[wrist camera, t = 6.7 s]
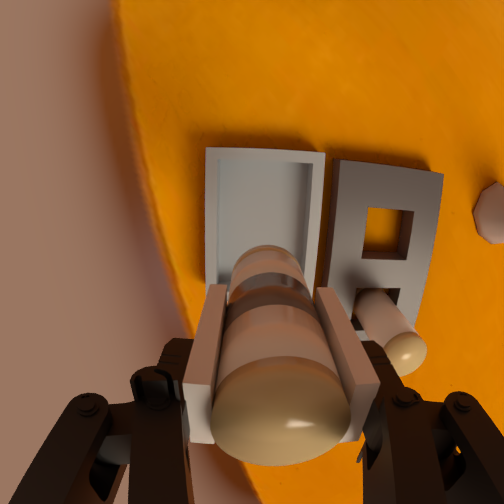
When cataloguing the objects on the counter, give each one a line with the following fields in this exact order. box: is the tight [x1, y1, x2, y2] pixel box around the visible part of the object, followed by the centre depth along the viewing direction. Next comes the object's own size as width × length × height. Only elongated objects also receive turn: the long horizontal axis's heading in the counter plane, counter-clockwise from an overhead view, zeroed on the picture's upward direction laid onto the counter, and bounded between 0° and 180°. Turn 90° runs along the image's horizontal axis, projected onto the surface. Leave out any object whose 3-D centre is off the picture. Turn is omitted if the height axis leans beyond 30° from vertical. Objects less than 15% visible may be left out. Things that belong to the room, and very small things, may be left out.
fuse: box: [353, 288, 427, 377], centre depth 28 cm, size 4×4×11 cm
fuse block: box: [321, 159, 444, 341], centre depth 31 cm, size 21×11×2 cm, turn 178°
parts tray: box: [205, 147, 325, 301], centre depth 29 cm, size 14×10×3 cm
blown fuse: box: [210, 245, 351, 466], centre depth 13 cm, size 4×4×11 cm
